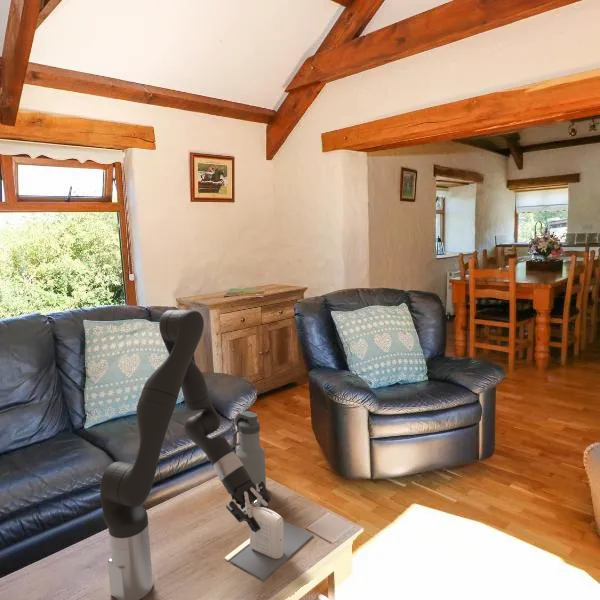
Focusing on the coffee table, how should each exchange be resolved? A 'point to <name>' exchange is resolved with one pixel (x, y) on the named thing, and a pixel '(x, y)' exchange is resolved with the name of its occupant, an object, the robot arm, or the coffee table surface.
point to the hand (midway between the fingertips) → (264, 525)
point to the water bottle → (250, 446)
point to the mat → (264, 564)
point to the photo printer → (267, 533)
